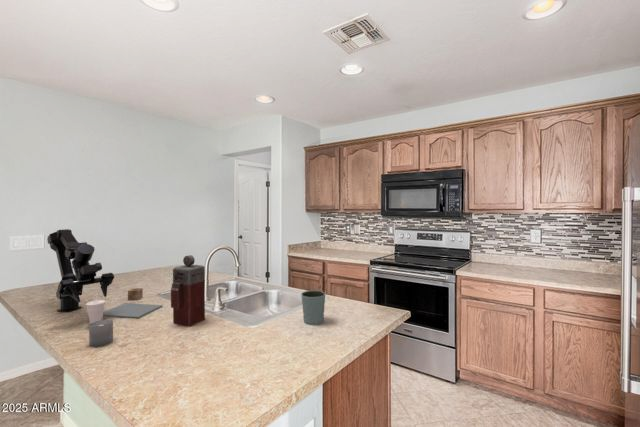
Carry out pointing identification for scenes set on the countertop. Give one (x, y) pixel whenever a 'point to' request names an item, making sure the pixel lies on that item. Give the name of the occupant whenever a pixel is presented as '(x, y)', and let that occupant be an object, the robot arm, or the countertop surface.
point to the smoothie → (95, 309)
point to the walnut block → (135, 294)
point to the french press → (188, 293)
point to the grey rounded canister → (100, 333)
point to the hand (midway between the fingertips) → (92, 298)
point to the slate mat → (131, 310)
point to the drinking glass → (313, 307)
